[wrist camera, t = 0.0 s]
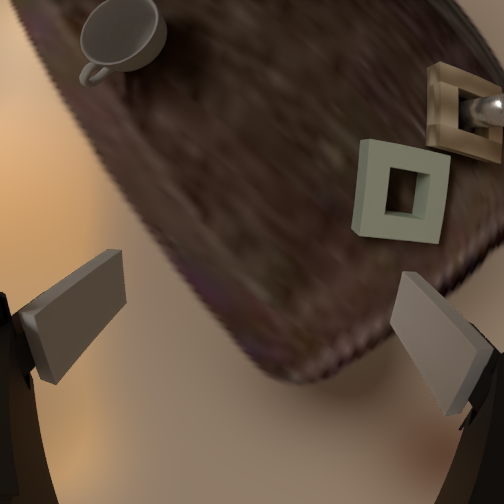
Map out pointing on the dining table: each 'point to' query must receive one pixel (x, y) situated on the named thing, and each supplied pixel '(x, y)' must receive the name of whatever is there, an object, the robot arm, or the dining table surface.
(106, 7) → the teacup
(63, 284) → the robot arm
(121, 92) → the dining table surface
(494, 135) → the block
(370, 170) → the socket block
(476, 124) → the lock pin
